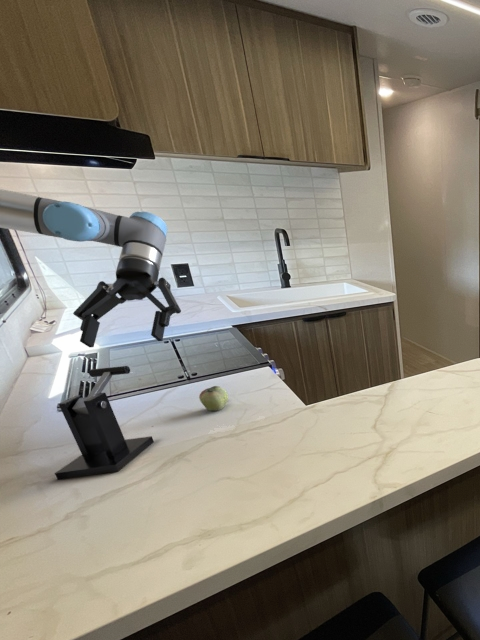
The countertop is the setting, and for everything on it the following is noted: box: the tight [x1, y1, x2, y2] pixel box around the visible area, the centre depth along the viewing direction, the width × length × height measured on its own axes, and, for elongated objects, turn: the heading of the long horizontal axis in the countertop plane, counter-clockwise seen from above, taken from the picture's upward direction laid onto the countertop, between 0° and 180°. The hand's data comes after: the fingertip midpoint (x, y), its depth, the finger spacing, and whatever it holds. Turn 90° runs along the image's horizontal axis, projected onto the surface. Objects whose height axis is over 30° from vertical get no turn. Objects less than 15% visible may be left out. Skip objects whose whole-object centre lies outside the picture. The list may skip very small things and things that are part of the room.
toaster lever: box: [72, 365, 131, 416], centre depth 82 cm, size 12×6×2 cm, turn 14°
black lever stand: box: [54, 392, 155, 481], centre depth 80 cm, size 12×10×14 cm
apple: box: [198, 385, 229, 412], centre depth 105 cm, size 6×8×6 cm
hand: (122, 341), depth 90 cm, fingers open, 13 cm apart
